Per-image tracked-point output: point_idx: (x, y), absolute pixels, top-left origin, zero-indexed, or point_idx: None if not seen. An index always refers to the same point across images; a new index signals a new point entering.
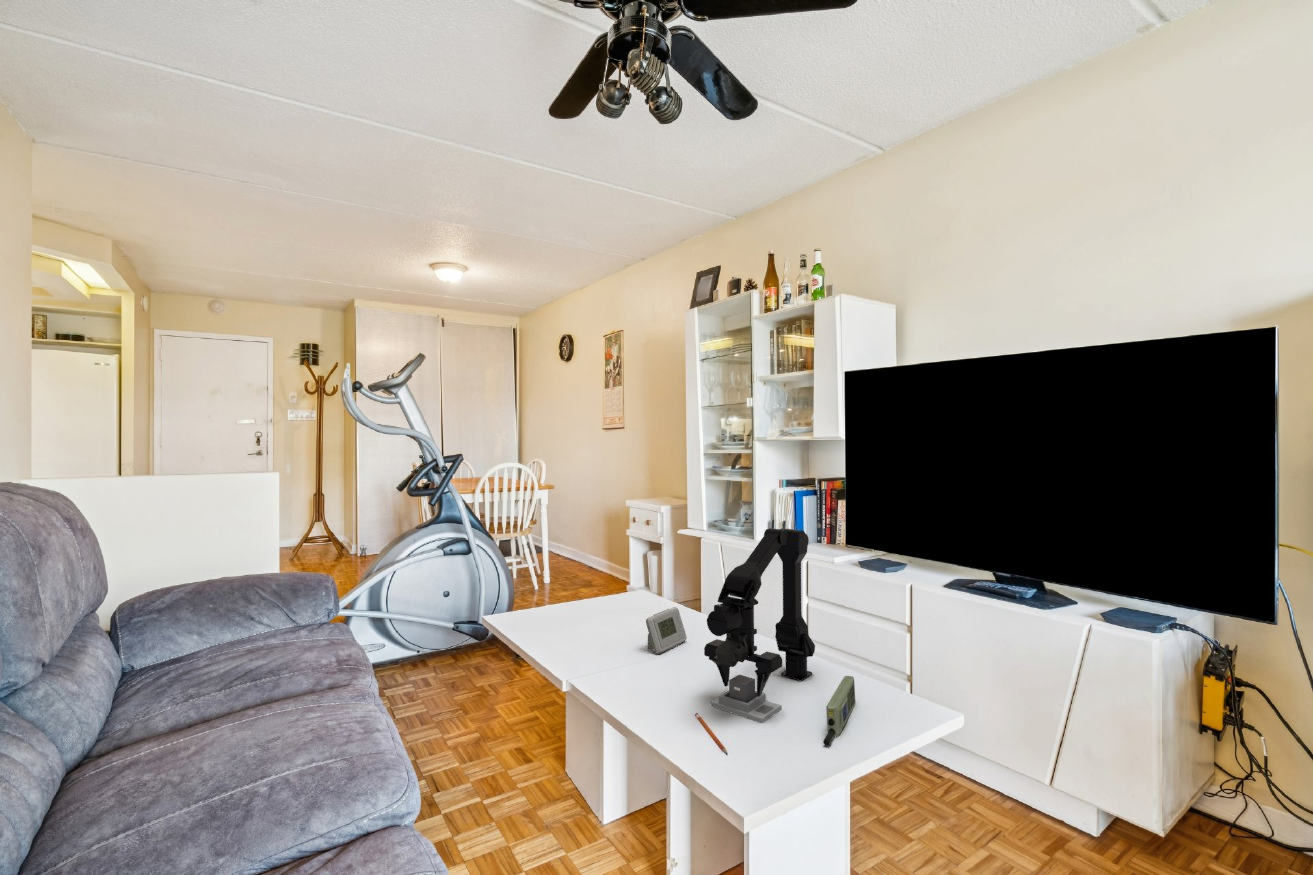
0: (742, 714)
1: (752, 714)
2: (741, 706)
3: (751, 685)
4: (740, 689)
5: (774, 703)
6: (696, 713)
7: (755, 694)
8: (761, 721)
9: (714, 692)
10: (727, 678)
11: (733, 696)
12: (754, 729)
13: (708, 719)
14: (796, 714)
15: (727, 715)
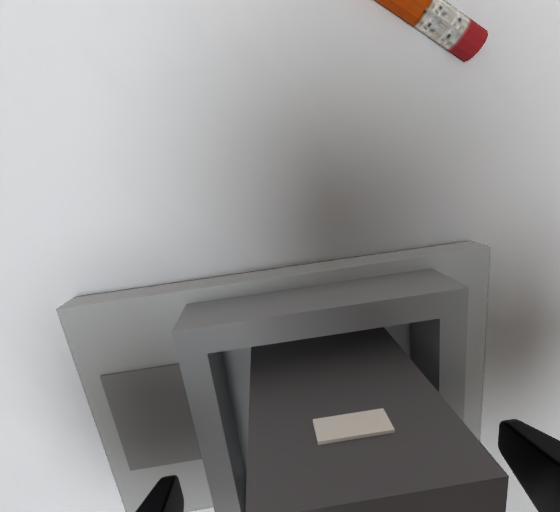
0: (225, 279)
1: (150, 308)
2: (240, 308)
3: None
4: (308, 434)
5: None
6: (479, 35)
7: None
8: (76, 299)
9: (550, 389)
10: (558, 508)
11: (365, 361)
12: (35, 187)
13: (364, 60)
14: (42, 507)
15: (306, 215)
